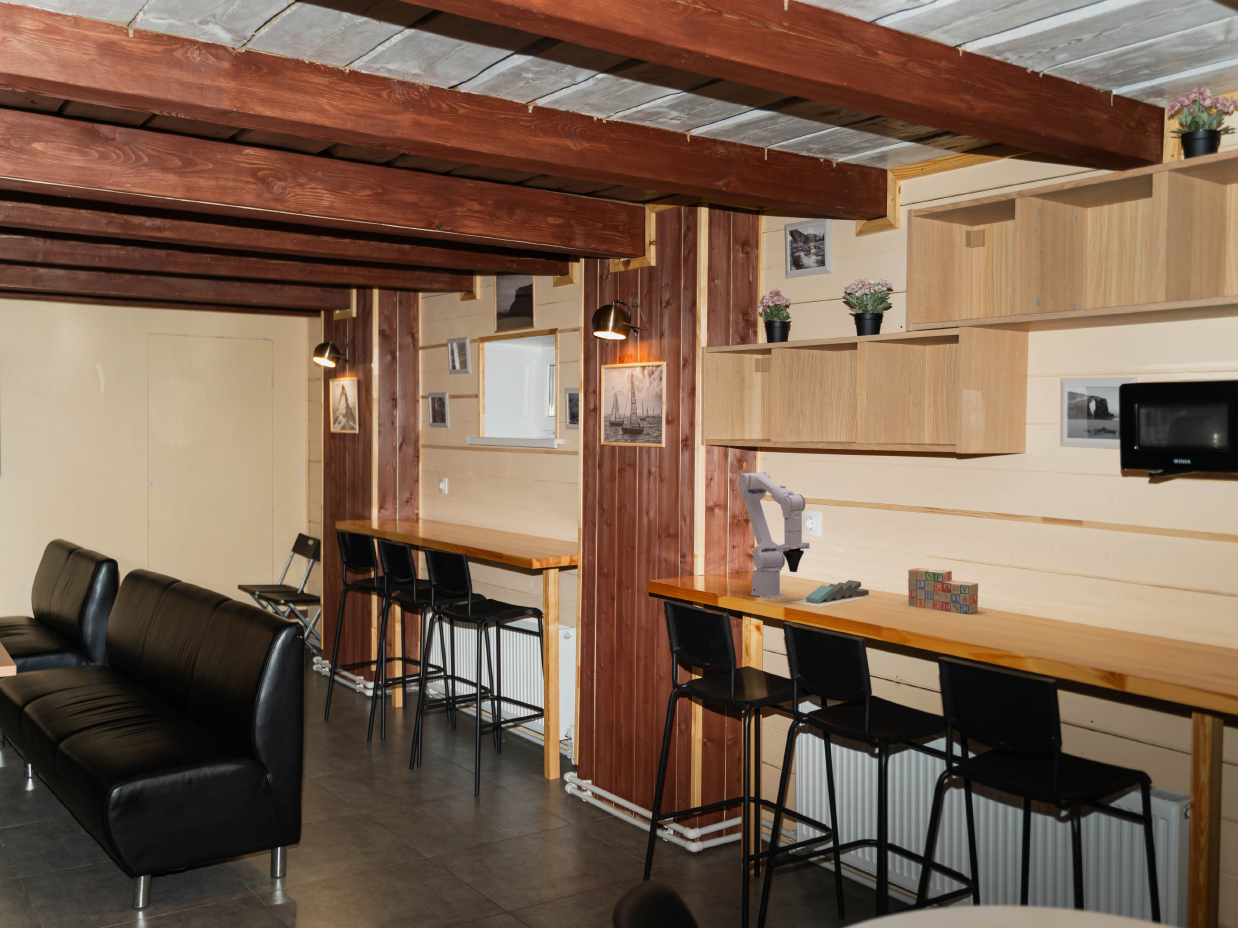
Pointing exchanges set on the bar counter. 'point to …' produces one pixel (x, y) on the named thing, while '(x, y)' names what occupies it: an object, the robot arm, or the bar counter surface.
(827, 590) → the domino
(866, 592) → the domino
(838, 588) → the domino
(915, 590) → the stack of blocks
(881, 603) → the bar counter surface
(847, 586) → the domino
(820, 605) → the mat
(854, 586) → the domino
